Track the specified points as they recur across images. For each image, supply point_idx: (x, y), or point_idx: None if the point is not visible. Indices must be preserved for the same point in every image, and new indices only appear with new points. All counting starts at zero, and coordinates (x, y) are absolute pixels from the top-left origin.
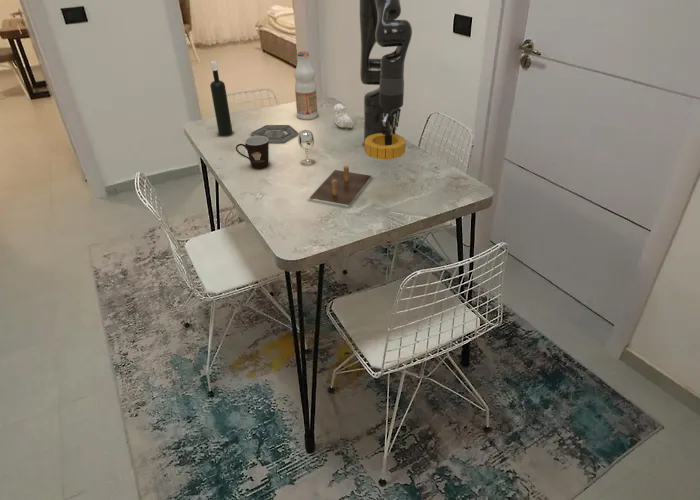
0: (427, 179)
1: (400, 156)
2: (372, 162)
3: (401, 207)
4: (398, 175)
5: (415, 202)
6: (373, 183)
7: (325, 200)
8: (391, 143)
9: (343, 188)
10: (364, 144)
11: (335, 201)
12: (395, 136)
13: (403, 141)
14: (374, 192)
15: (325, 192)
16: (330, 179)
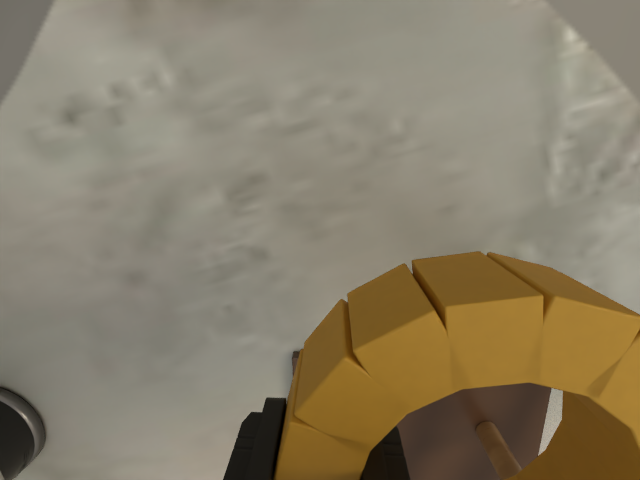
0: (207, 124)
1: (543, 266)
2: (159, 387)
3: (501, 165)
4: (225, 260)
5: (442, 118)
6: None
7: (538, 442)
8: None
9: (431, 417)
10: (31, 461)
11: (538, 410)
12: (350, 440)
13: (483, 323)
14: None
15: (479, 460)
16: None
